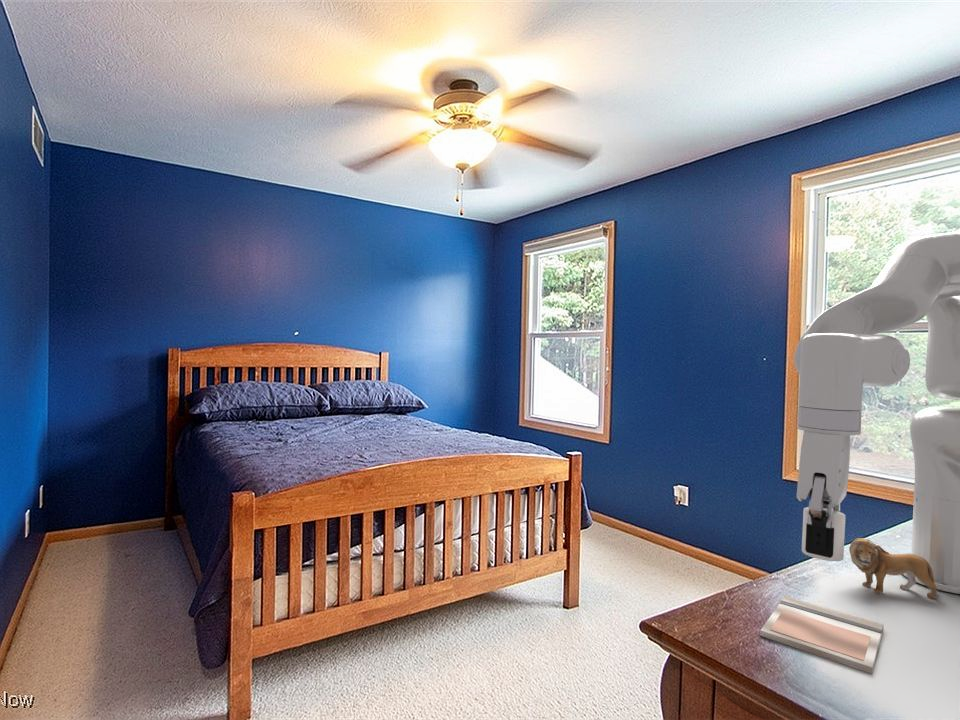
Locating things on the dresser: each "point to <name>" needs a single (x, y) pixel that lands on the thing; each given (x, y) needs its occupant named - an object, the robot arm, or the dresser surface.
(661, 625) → the dresser surface
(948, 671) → the dresser surface
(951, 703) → the dresser surface
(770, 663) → the dresser surface
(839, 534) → the white rounded cylinder
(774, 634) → the board
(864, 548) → the lion figurine
